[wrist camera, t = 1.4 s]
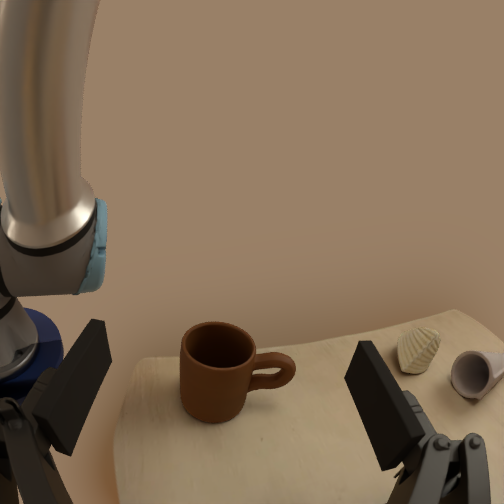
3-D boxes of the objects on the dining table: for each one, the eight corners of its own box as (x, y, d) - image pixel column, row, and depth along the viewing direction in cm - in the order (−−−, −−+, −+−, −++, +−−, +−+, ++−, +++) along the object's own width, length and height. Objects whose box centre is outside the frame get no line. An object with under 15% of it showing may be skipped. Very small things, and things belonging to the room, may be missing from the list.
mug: (280, 387, 34) (298, 332, 31) (280, 434, 27) (304, 383, 24) (187, 371, 34) (190, 314, 31) (173, 417, 27) (170, 362, 24)
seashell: (443, 347, 41) (454, 350, 34) (409, 378, 43) (415, 388, 36) (417, 315, 45) (425, 314, 38) (384, 347, 46) (386, 351, 39)
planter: (502, 326, 45) (467, 340, 35) (526, 345, 38) (501, 370, 27) (486, 353, 48) (442, 377, 37) (508, 373, 40) (473, 408, 30)
